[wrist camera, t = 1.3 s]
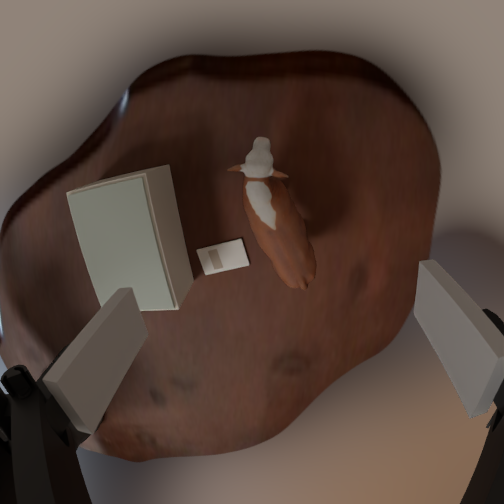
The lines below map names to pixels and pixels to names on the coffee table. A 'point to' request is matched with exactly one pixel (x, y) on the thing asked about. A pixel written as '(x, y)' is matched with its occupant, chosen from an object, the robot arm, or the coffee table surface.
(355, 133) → the coffee table surface
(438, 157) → the coffee table surface
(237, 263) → the page
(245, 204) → the bull figurine
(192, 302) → the coffee table surface
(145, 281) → the plinth
